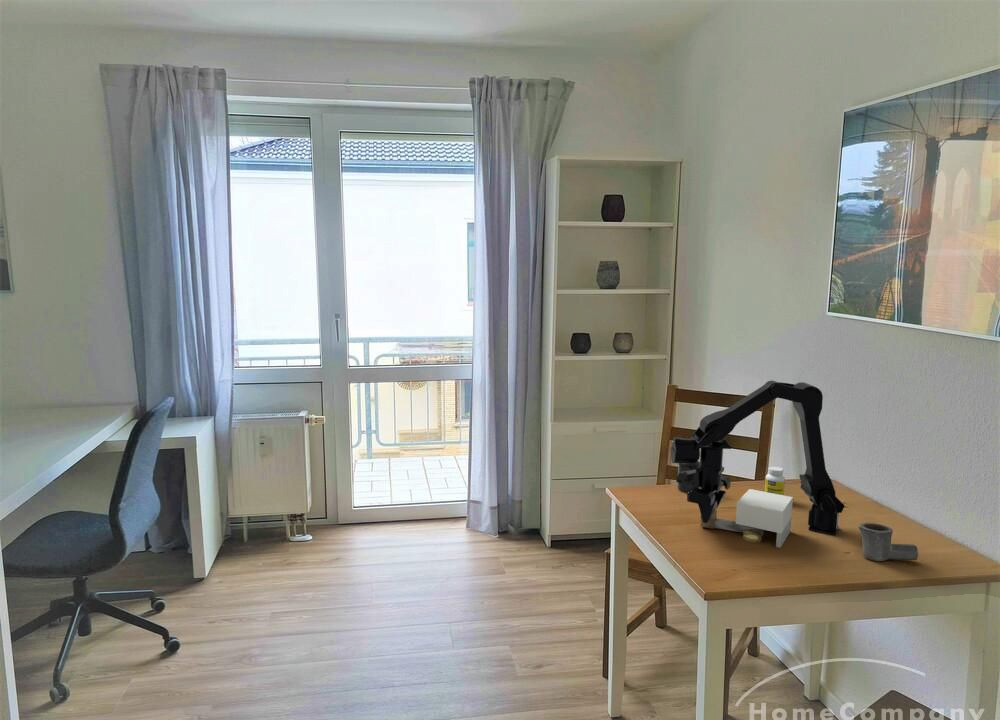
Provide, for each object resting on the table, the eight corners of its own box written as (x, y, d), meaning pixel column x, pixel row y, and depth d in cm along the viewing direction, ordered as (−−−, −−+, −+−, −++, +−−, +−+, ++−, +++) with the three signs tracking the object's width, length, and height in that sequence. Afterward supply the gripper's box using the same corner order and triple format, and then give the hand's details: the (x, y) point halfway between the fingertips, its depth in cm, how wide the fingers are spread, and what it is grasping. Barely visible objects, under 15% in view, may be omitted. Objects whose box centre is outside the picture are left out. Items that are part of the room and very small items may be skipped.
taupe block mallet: (763, 530, 173) (765, 509, 172) (762, 536, 170) (763, 514, 168) (702, 520, 180) (703, 499, 179) (700, 526, 176) (701, 505, 175)
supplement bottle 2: (764, 501, 197) (766, 469, 195) (764, 495, 202) (766, 464, 200) (783, 504, 195) (786, 472, 193) (783, 498, 200) (785, 467, 198)
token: (762, 538, 170) (762, 531, 170) (759, 544, 166) (759, 537, 166) (744, 534, 172) (745, 528, 172) (741, 540, 169) (741, 533, 168)
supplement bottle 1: (672, 489, 207) (674, 452, 206) (686, 484, 211) (688, 448, 210) (691, 495, 202) (692, 457, 200) (704, 490, 206) (706, 453, 204)
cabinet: (790, 531, 174) (792, 497, 173) (779, 548, 164) (782, 511, 163) (747, 522, 180) (749, 488, 179) (734, 537, 170) (736, 502, 169)
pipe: (919, 567, 154) (923, 535, 153) (860, 562, 157) (863, 530, 156) (909, 556, 160) (912, 525, 159) (852, 551, 163) (855, 520, 161)
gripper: (692, 450, 187) (689, 503, 189) (669, 466, 172) (666, 524, 174) (732, 457, 181) (729, 511, 183) (711, 474, 166) (708, 534, 168)
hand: (707, 519), depth 177 cm, fingers closed on taupe block mallet, 4 cm apart
